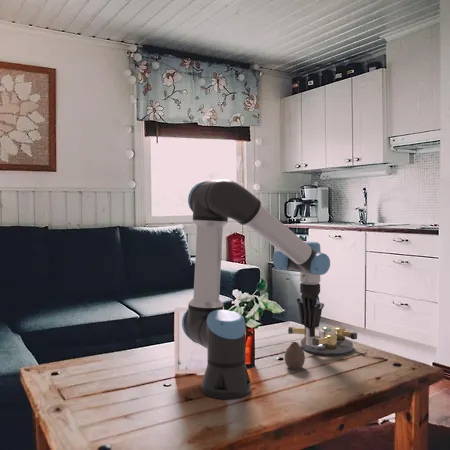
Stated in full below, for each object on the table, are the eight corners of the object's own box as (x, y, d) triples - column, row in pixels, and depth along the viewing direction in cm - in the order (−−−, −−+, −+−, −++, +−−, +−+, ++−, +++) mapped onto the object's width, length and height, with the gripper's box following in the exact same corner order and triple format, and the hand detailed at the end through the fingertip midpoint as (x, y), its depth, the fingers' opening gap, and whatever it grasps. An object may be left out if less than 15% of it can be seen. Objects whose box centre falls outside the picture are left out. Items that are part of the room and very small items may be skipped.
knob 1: (315, 338, 191) (315, 327, 191) (314, 341, 187) (314, 330, 187) (289, 336, 194) (289, 325, 194) (288, 339, 190) (288, 328, 189)
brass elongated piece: (331, 338, 191) (331, 327, 190) (339, 337, 193) (339, 326, 193) (351, 345, 182) (351, 333, 181) (359, 343, 184) (359, 332, 184)
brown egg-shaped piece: (283, 370, 162) (283, 344, 162) (286, 363, 169) (286, 339, 168) (303, 372, 160) (303, 346, 160) (305, 365, 167) (306, 340, 166)
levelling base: (363, 350, 183) (364, 329, 183) (325, 359, 173) (325, 337, 172) (327, 337, 200) (328, 318, 200) (290, 345, 190) (290, 325, 190)
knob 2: (331, 344, 182) (331, 333, 182) (339, 347, 179) (339, 336, 178) (309, 349, 177) (310, 337, 177) (317, 352, 173) (318, 340, 173)
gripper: (291, 281, 182) (291, 341, 183) (314, 286, 171) (313, 350, 172) (306, 279, 186) (306, 338, 187) (329, 284, 175) (329, 347, 176)
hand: (309, 344), depth 180 cm, fingers closed
